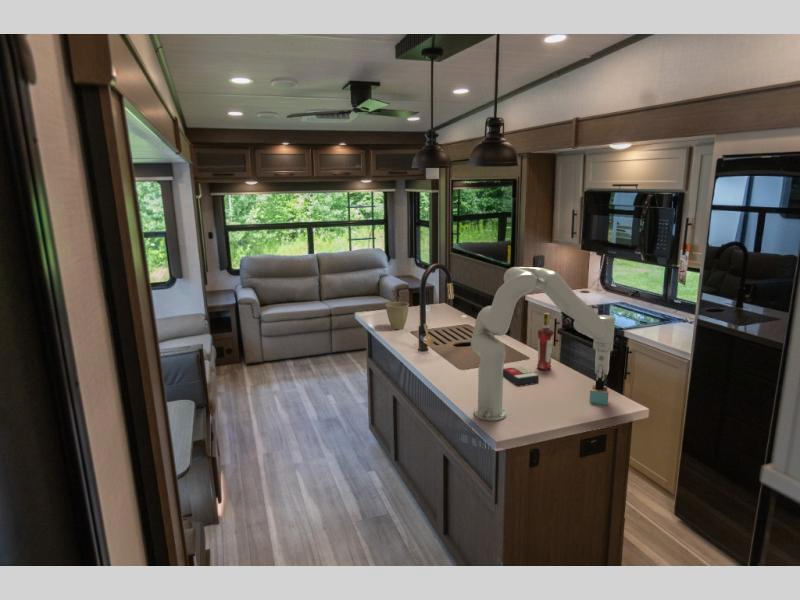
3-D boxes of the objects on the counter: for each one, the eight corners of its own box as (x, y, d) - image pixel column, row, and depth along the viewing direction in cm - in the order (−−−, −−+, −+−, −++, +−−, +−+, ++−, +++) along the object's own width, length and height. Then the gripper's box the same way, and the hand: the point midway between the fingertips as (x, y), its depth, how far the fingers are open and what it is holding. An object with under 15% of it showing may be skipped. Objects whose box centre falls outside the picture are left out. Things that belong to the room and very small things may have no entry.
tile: (607, 405, 206) (608, 393, 204) (589, 402, 209) (590, 390, 207) (607, 403, 207) (608, 391, 206) (589, 401, 210) (590, 388, 209)
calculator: (521, 365, 244) (539, 374, 230) (521, 373, 245) (538, 383, 231) (501, 368, 241) (517, 377, 227) (501, 376, 241) (517, 386, 227)
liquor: (539, 364, 253) (541, 310, 247) (553, 367, 249) (556, 312, 243) (534, 369, 247) (536, 314, 241) (548, 372, 243) (551, 316, 237)
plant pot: (408, 324, 331) (408, 301, 327) (409, 331, 316) (409, 306, 313) (386, 325, 330) (385, 301, 327) (386, 331, 316) (385, 307, 312)
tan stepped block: (606, 395, 207) (608, 368, 205) (592, 393, 210) (594, 366, 207) (607, 392, 210) (609, 365, 207) (592, 390, 212) (594, 363, 210)
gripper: (611, 352, 196) (608, 396, 200) (614, 340, 211) (610, 382, 215) (591, 350, 200) (588, 393, 204) (595, 338, 214) (592, 379, 218)
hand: (599, 387), depth 209 cm, fingers closed on tan stepped block, 3 cm apart
